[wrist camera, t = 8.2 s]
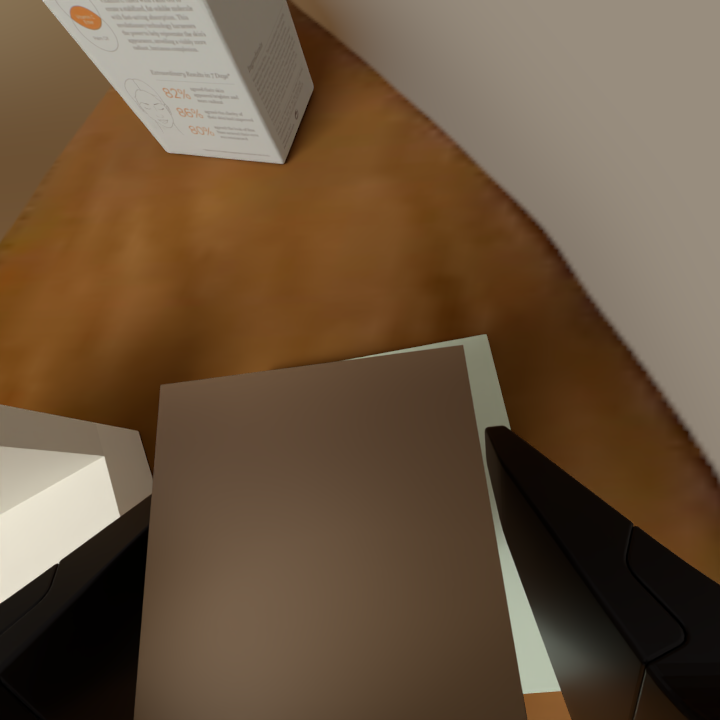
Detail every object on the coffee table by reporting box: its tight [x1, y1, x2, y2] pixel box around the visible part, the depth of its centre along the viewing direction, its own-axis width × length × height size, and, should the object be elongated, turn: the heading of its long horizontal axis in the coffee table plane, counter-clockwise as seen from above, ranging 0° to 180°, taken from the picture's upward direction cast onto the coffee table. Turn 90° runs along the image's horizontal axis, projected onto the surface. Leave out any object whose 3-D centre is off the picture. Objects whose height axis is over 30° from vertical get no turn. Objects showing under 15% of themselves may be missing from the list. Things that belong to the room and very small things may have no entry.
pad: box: [343, 334, 561, 694], centre depth 15 cm, size 12×10×1 cm
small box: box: [42, 0, 314, 164], centre depth 19 cm, size 8×6×10 cm
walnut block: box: [134, 345, 527, 720], centre depth 10 cm, size 5×5×10 cm
